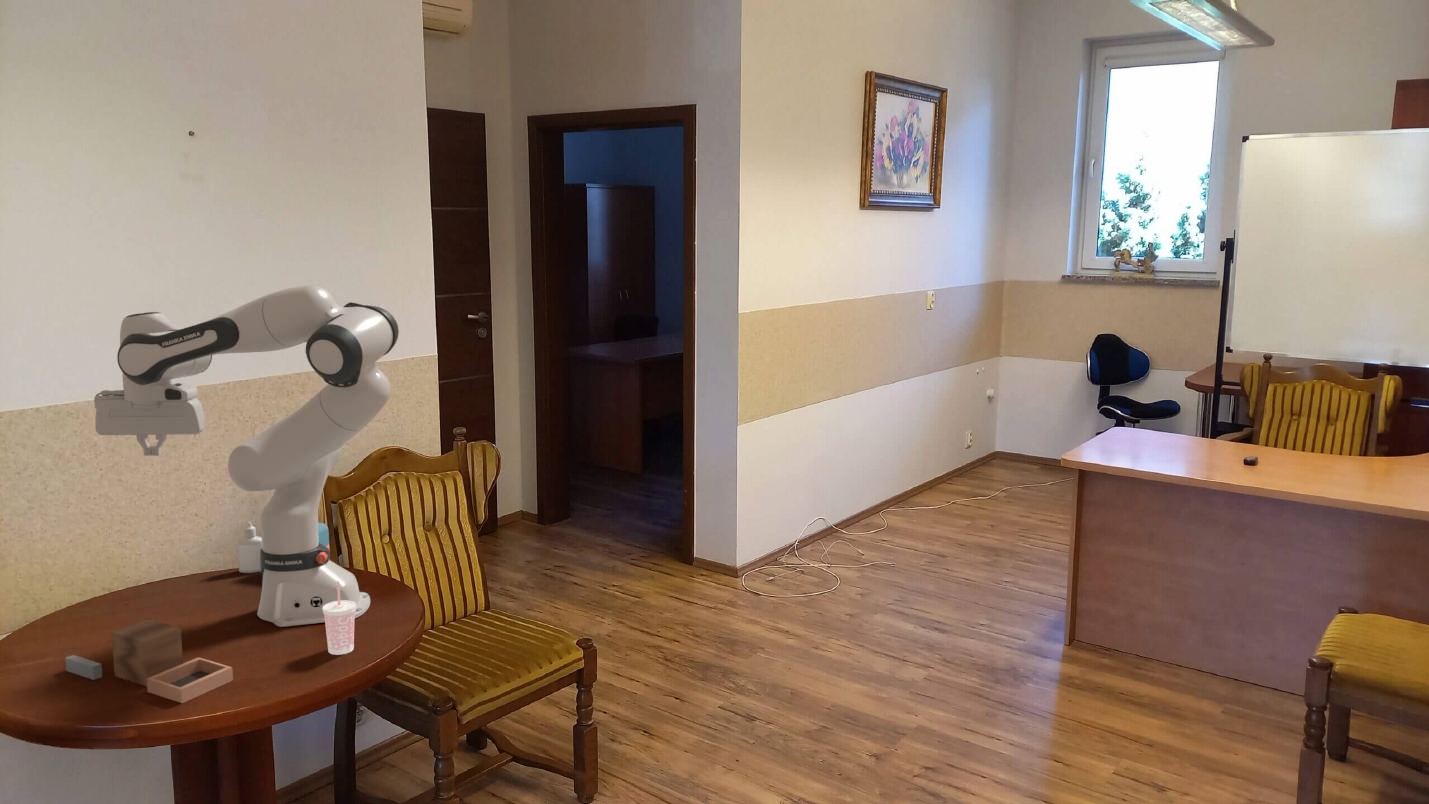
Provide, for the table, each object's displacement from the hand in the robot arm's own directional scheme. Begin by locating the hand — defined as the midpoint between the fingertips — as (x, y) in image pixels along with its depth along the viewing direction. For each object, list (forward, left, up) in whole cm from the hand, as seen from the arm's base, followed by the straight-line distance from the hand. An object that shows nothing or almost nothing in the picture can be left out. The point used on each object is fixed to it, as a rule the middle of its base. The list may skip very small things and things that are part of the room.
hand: (153, 455), depth 203 cm
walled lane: (-2, +29, -33) cm, 44 cm away
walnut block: (-10, +35, -33) cm, 49 cm away
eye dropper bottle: (-12, -21, -33) cm, 41 cm away
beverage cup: (-42, +28, -33) cm, 60 cm away
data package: (-24, -19, -33) cm, 45 cm away
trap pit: (-19, +41, -33) cm, 56 cm away
